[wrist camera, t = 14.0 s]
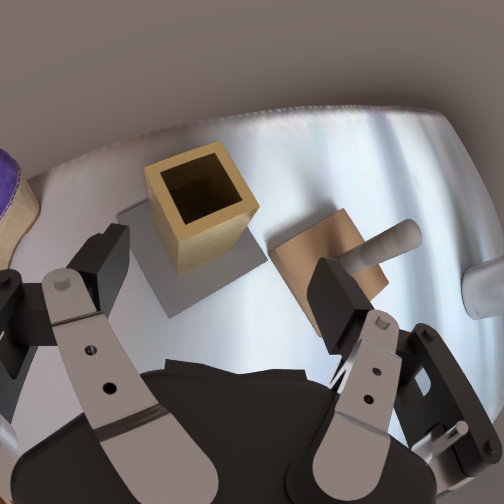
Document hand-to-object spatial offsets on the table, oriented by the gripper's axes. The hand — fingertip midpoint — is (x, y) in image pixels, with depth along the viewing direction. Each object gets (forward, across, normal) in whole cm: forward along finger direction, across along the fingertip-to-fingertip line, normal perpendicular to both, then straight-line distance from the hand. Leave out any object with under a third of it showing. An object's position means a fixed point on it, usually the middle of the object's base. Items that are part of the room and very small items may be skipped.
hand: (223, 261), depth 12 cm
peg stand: (+14, -13, +8) cm, 21 cm away
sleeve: (+14, +2, +6) cm, 16 cm away
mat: (+15, +2, +7) cm, 16 cm away
